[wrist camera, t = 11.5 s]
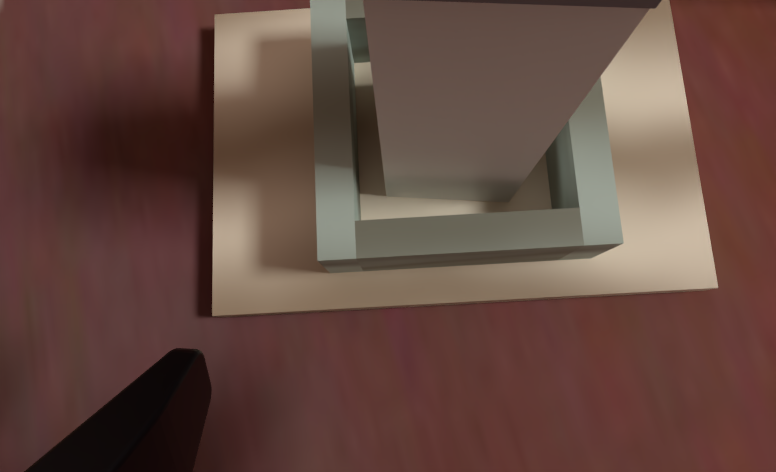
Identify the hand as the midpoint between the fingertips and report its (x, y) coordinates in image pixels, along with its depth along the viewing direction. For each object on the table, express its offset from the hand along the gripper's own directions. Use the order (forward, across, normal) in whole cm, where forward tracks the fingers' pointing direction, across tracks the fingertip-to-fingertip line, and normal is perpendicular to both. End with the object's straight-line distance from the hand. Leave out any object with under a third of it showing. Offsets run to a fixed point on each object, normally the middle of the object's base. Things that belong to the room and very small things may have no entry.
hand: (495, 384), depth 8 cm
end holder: (+14, 0, +3) cm, 15 cm away
